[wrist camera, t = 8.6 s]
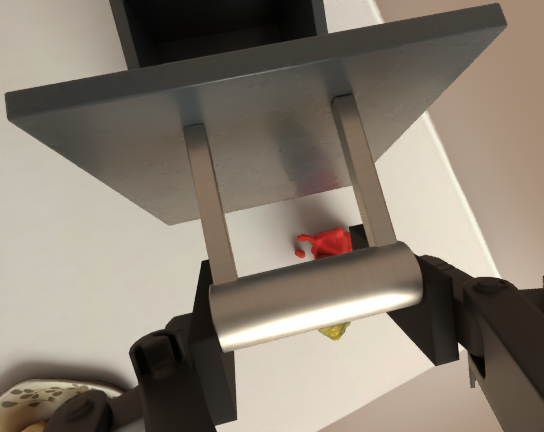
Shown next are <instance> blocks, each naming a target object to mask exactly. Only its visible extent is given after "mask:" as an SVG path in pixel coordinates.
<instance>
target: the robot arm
mask: <svg viewBox="0 0 544 432" xmlns="http://www.w3.org/2000/svg"><path fill="white" fill-rule="evenodd" d="M349 231H350V237H351V244H352V251H355V250H359V249H364V248H368V247H369V243H368V240H367V236H366V232H365V229H364V225H363V224H359V225H355V226H351V227H349ZM413 254H414V253H413ZM414 256H415V257H416V259H417V262H418V264H419V267H420V270H421V273H422V277H423V283H424V295H423V299H422V301H421V302H420V303H419V304H416V305H413V306H409V307H405V308H401V309H397V310H393V311H389V312H386V313H387V314H388V315H389V316H390V317H391V318H392V319H393V320H394V322H395V323H396V324H397V325H398V326H399V327H400V328H401V329H402V330H403V331H404V332H405V333H406V335H407V336H408V337H409V338H410V339H411V340H412V341H413V342H414V343H415V344H416V345H417V346H418V348H419V349H420V350H421V351H422V352H423V353H424V354H425V355H426V356H427V357H428V358H429V359H430V361H431V362H432V363H433V364H434V365H435V366H438V365H442V364H446V363H449V362H453V361H457V360H459V350H458V343H460V344H461V345H462V346H463V347H464V348H465V349H466V350H467V351H468V364H469V377H470V385H471V388H475V381H476V380H477V381H478V383H479V385H480V387H481V389H482V391H483V392H484V395H485V396H486V399H487V400H488V402H489V404H490V406H491V408H492V410H493V412H494V414H495V416H496V417H497V419H498V421H499V423H500V425H501V427H502V429H503V431H504V432H544V276H543V288H539V289H526V290H518V289H517V288H516V287H515V286H514V285H513V284H512V283H510V282H508V281H506V280H503V279H500V278H494V277H477V278H473V277H472V276H470V275H468V274H466V273H465V272H463V271H461V270H459V269H457V268H455V267H454V266H452V265H450V264H448V263H447V262H445V261H443V260H441V259H440V258H437V257H433V256H429V255H423V256H417V255H416V254H414ZM211 284H214V282H213V277H212V273H211V268H210V263H209V259H208V260H204V261H202V263H201V269H200V274H199V280H198V285H197V291H196V296H195V301H194V307H193V312H192V313H188V314H184V315H180V316H176V317H173V318H172V319H171V320H170V322H169V323H168V324H167V325H166V326H165V329H162V330H158V331H155V332H152V333H150V334H147V335H145V336H143V337H142V338H140V339H139V340H138V341H136V342H135V343H134V344H133V345H132V347H131V348H130V351H129V355H130V358H131V361H132V364H133V367H134V370H135V373H136V376H137V379H138V384H139V385H138V386H136V387H135V388H133V389H132V390H130V391H128V392H126V393H124V394H122V395H120V396H117V397H115V398H113V399H111V400H108V397H107V394H106V393H105V392H104V391H103V390H97V389H95V390H90V391H85V392H83V393H80V394H77V395H75V396H73V397H72V398H70V399H68V400H67V401H65V402H64V403H63V404H62V405H61V406H60V407H58V408H57V409H56V410H55V412H54V413H53V414H52V416H51V417H50V419H49V420H48V422H47V424H46V426H45V428H44V430H43V431H42V432H217V431H216V428H215V426H216V425H220V424H224V423H227V422H231V421H235V420H237V406H236V384H235V362H234V350H233V351H229V352H226V353H225V352H222V350H221V349H220V346H219V344H218V341H217V337H216V333H215V330H214V325H213V320H212V315H211V308H210V300H209V288H210V285H211Z"/></svg>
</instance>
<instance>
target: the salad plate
mask: <svg viewBox="0 0 544 432" xmlns="http://www.w3.org/2000/svg"><path fill="white" fill-rule="evenodd" d="M95 389H97V390H103V391H104V392H105V393H106V394H107V397H108V400H111V399H113V398H115V397H117V396H120V395H122V394H124V393H126V392H127V391H125V390H123V389H122V388H120V387H117V386H114V385H111V384H109V383H106V382H101V381H89V382H85V381H75V380H67V379H48V380H40V379H31V380H27V381H24V382H21V383H18V384H15V385H14V386H12V387H11V388H9V389H8V390H6V391H5V392H3V393H2V394H0V432H42V431H43V430H44V428H45V426H46V424H47V422H48V420H49V419H50V417H51V416H52V414H53V413H54V412H55V410H56V409H57V408H58V407H60V406H61V405H62V404H63V403H64V402H65V401H67V400H68V399H70V398H72V397H73V396H75V395H77V394H80V393H83V392H85V391H90V390H95Z"/></svg>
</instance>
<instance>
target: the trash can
mask: <svg viewBox="0 0 544 432" xmlns="http://www.w3.org/2000/svg"><path fill="white" fill-rule="evenodd" d="M109 2H110V5H111V9H112V13H113V16H114V20H115V24H116V27H117V31H118V35H119V39H120V42H121V46H122V50H123V53H124V57H125V61H126V64H127V68H128V70H132V69H138V68H143V67H149V66H154V65H160V64H165V63H171V62H176V61H182V60H187V59H193V58H198V57H203V56H209V55H214V54H220V53H225V52H231V51H236V50H242V49H247V48H253V47H258V46H264V45H269V44H275V43H280V42H285V41H291V40H296V39H302V38H307V37H313V36H318V35H324V34H328V30H327V23H326V17H325V10H324V3H323V0H109Z"/></svg>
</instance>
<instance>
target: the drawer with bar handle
mask: <svg viewBox="0 0 544 432" xmlns="http://www.w3.org/2000/svg"><path fill="white" fill-rule="evenodd" d="M506 27H507V22H506V19H505V16H504V14H503V11H502V9H501V6H500V4H499V3H493V4H488V5H482V6H477V7H472V8H466V9H460V10H456V11H450V12H444V13H439V14H433V15H428V16H423V17H417V18H411V19H406V20H400V21H395V22H390V23H384V24H378V25H373V26H367V27H362V28H357V29H351V30H346V31H340V32H335V33H329V34H324V35H318V36H313V37H307V38H302V39H296V40H291V41H285V42H280V43H275V44H269V45H264V46H258V47H253V48H247V49H242V50H236V51H231V52H225V53H220V54H214V55H209V56H203V57H198V58H193V59H187V60H182V61H176V62H171V63H165V64H160V65H154V66H149V67H143V68H138V69H132V70H127V71H121V72H116V73H111V74H105V75H100V76H94V77H89V78H83V79H78V80H72V81H67V82H61V83H56V84H50V85H45V86H39V87H34V88H29V89H23V90H18V91H12V92H7V93H5V103H6V112H7V119H8V120H9V121H10V122H11V123H13V124H14V125H16V126H17V127H19V128H20V129H22V130H23V131H25V132H26V133H28V134H29V135H31V136H33V137H34V138H36V139H37V140H39V141H40V142H42V143H43V144H45V145H46V146H48V147H49V148H51V149H52V150H54V151H55V152H57V153H59V154H60V155H62V156H63V157H65V158H66V159H68V160H69V161H71V162H72V163H74V164H75V165H77V166H78V167H80V168H81V169H83V170H85V171H86V172H88V173H89V174H91V175H92V176H94V177H95V178H97V179H98V180H100V181H101V182H103V183H104V184H106V185H108V186H109V187H111V188H112V189H114V190H115V191H117V192H118V193H120V194H121V195H123V196H124V197H126V198H127V199H129V200H130V201H132V202H134V203H135V204H137V205H138V206H140V207H141V208H143V209H144V210H146V211H147V212H149V213H150V214H152V215H153V216H155V217H156V218H158V219H160V220H161V221H163V222H164V223H166V224H167V225H174V224H179V223H183V222H188V221H192V220H197V219H201V223H202V228H203V233H204V238H205V243H206V248H207V253H208V258H209V263H210V268H211V273H212V277H213V282H214V284H211V285H210V288H209V300H210V308H211V315H212V320H213V325H214V330H215V333H216V337H217V341H218V344H219V346H220V349H221V350H222V352H225V353H226V352H229V351H233V350H237V349H241V348H245V347H249V346H253V345H257V344H261V343H265V342H269V341H273V340H277V339H281V338H285V337H289V336H293V335H297V334H301V333H305V332H309V331H313V330H317V329H321V328H325V327H329V326H333V325H337V324H341V323H345V322H349V321H353V320H357V319H361V318H365V317H369V316H373V315H377V314H381V313H385V312H389V311H393V310H397V309H401V308H405V307H409V306H413V305H416V304H419V303H420V302H421V301H422V299H423V295H424V283H423V277H422V273H421V270H420V267H419V264H418V262H417V259H416V257H415V256H414V254H413V252H412V251H411V249H410V248H409V247H408V246H407V245H406V244H405V243H404V242H402V241H397V239H396V236H395V233H394V229H393V226H392V223H391V219H390V216H389V212H388V209H387V206H386V202H385V199H384V195H383V192H382V189H381V185H380V182H379V179H378V175H377V172H376V168H375V165H374V163H375V162H376V161H377V160H378V159H379V158H380V157H381V156H382V155H383V154H384V153H385V152H386V151H387V150H388V149H389V147H390V146H391V145H392V144H393V143H394V142H395V141H396V140H397V139H398V138H399V137H400V136H401V135H402V134H403V133H404V132H405V131H406V130H407V129H408V128H409V127H410V126H411V125H412V124H413V123H414V122H415V121H416V120H417V119H418V118H419V117H420V116H421V115H422V114H423V113H424V111H425V110H426V109H427V108H428V107H429V106H430V105H431V104H432V103H433V102H434V101H435V100H436V99H437V98H438V97H439V96H440V95H441V94H442V93H443V92H444V91H445V90H446V89H447V88H448V87H449V86H450V85H451V84H452V83H453V82H454V80H456V78H458V76H459V75H460V74H461V73H462V72H463V71H464V70H465V69H466V68H467V67H468V66H469V65H470V64H471V63H472V62H473V61H474V60H475V59H476V58H477V57H478V56H479V55H480V54H481V53H482V52H483V51H484V50H485V49H486V48H487V47H488V46H489V45H490V44H491V43H492V42H493V40H494V39H495V38H496V37H497V36H498V35H499V34H500V33H501V32H502V31H503V30H504V29H505V28H506ZM347 186H353V190H354V193H355V197H356V200H357V204H358V208H359V211H360V215H361V218H362V222H363V225H364V229H365V232H366V236H367V240H368V243H369V247H368V248H364V249H359V250H355V251H351V252H347V253H342V254H338V255H334V256H330V257H325V258H321V259H317V260H313V261H308V262H304V263H300V264H296V265H291V266H287V267H283V268H279V269H274V270H270V271H266V272H261V273H257V274H253V275H249V276H244V277H240V278H238V276H237V271H236V266H235V262H234V257H233V252H232V248H231V243H230V238H229V234H228V229H227V224H226V220H225V215H224V213H229V212H233V211H238V210H242V209H247V208H251V207H256V206H261V205H265V204H270V203H274V202H279V201H283V200H288V199H292V198H297V197H301V196H306V195H311V194H315V193H320V192H324V191H329V190H333V189H338V188H342V187H347Z"/></svg>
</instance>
